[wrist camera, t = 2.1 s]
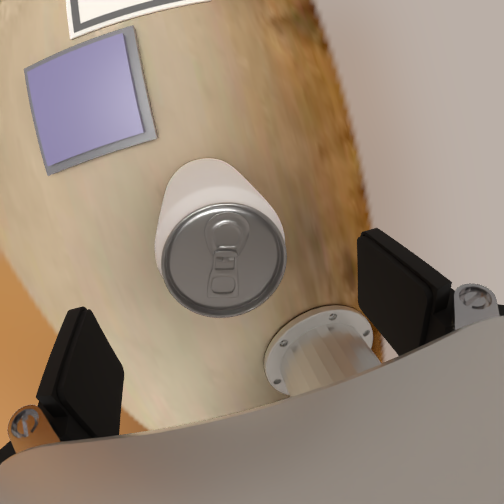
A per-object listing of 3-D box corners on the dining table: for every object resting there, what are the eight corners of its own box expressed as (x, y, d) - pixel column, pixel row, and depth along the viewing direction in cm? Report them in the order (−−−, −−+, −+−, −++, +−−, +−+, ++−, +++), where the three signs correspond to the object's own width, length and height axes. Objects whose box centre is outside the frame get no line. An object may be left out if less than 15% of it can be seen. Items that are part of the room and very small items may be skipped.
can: (250, 159, 24) (306, 197, 14) (242, 237, 27) (284, 323, 16) (166, 155, 23) (150, 190, 12) (163, 236, 25) (154, 325, 15)
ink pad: (135, 29, 18) (130, 21, 16) (158, 137, 22) (155, 139, 20) (30, 70, 17) (18, 67, 15) (53, 173, 21) (42, 178, 19)
